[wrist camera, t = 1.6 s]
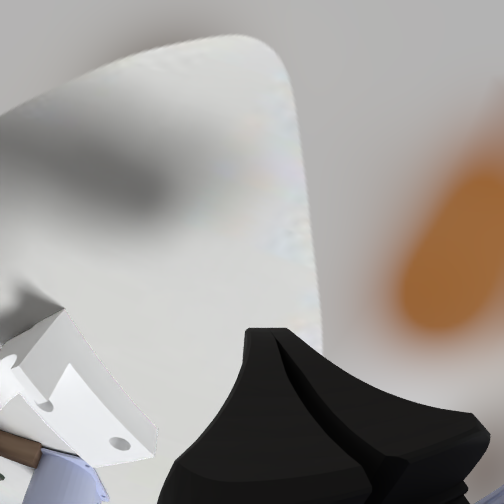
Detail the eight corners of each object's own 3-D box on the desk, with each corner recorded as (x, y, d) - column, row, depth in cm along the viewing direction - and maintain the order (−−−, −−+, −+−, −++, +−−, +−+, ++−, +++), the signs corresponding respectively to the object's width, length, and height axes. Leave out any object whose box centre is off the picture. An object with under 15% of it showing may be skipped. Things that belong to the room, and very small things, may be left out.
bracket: (12, 335, 20) (-33, 388, 12) (66, 306, 20) (18, 365, 12) (100, 441, 24) (84, 501, 16) (158, 426, 24) (150, 495, 16)
